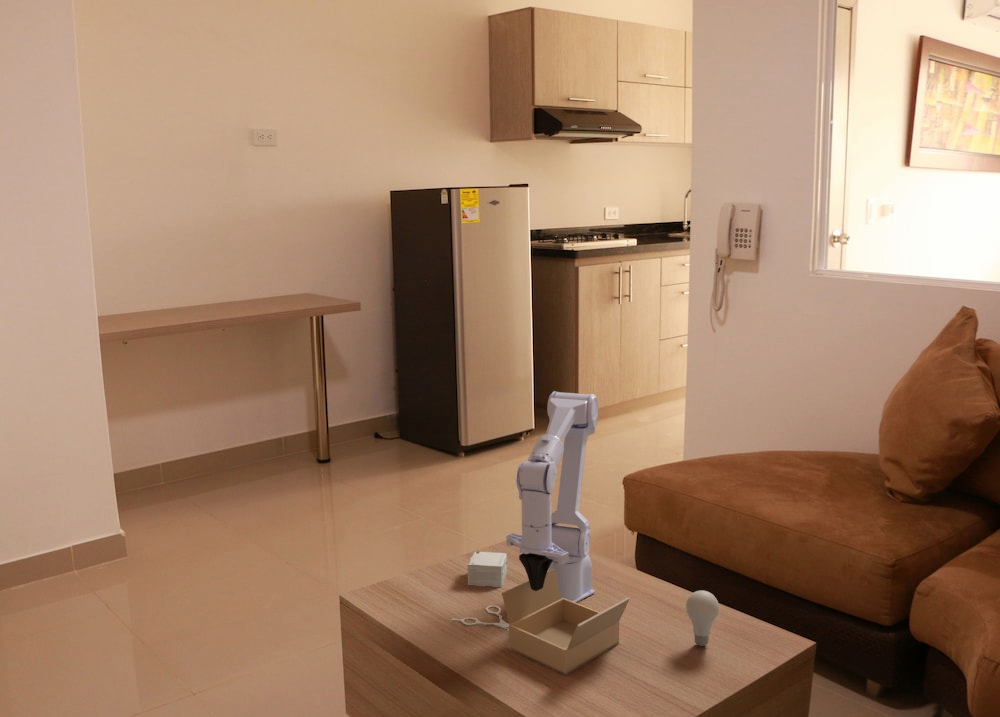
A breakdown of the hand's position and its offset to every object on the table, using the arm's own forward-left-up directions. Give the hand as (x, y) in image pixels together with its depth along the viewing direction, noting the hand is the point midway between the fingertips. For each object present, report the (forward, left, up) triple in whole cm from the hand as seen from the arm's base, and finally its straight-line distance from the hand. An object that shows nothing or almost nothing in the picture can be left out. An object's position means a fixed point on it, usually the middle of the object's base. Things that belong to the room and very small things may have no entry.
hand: (537, 588), depth 175 cm
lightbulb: (-18, +26, -10) cm, 33 cm away
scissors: (+2, -7, -10) cm, 13 cm away
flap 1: (0, -1, -2) cm, 2 cm away
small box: (-12, -26, -10) cm, 30 cm away
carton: (0, +7, -10) cm, 12 cm away
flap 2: (0, +15, -2) cm, 15 cm away
